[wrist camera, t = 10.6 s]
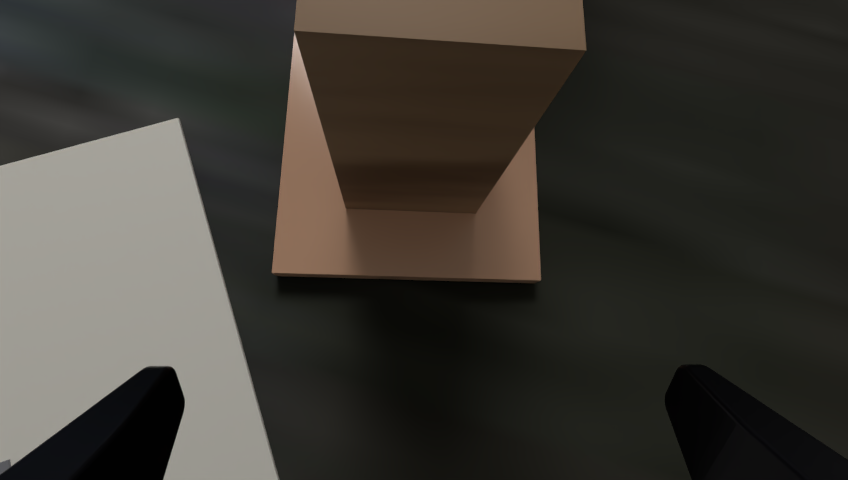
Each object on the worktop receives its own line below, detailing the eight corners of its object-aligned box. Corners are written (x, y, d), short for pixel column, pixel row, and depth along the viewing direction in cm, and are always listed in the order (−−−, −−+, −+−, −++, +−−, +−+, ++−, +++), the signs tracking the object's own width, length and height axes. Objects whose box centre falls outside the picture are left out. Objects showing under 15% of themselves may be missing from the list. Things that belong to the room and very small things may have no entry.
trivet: (534, 283, 18) (540, 280, 17) (276, 276, 17) (271, 272, 16) (525, 61, 20) (530, 49, 19) (297, 45, 20) (294, 33, 19)
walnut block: (475, 213, 18) (585, 50, 8) (345, 208, 17) (293, 30, 8) (474, 97, 19) (569, -170, 9) (352, 90, 18) (315, -197, 9)
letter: (329, 655, 15) (328, 664, 14) (-157, 886, 13) (-175, 903, 12) (181, 121, 18) (176, 116, 18) (-214, 228, 16) (-228, 225, 16)
